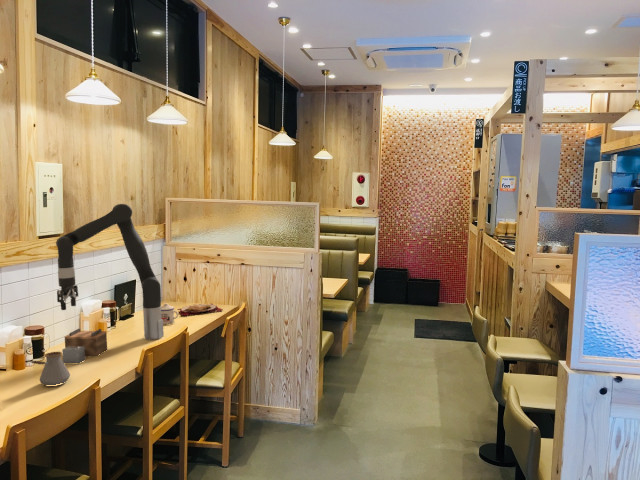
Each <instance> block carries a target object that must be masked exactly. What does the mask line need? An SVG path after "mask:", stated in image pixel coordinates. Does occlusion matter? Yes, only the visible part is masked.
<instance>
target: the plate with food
mask: <svg viewBox="0 0 640 480" xmlns="http://www.w3.org/2000/svg"><path fill="white" fill-rule="evenodd" d="M176 311H178V314H180V315H181V316H195V315H199V314H200V315H201V314H202V315H203V314H205V313H203V312H207V314H213V313H218V312H221V311H223V308H221V307H219V306H217V304H216V305H215V304H213V303H209V304H205V303H203V304H202V303H200V304H191V305H186V306H183V307H182V308H177V309H176Z"/></svg>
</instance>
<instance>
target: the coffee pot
mask: <svg viewBox="0 0 640 480" xmlns="http://www.w3.org/2000/svg"><path fill="white" fill-rule="evenodd" d="M62 355H63V352H62V351H51V352H47V353H45V354H44V357H45V358H46V361H43V360H42V361H41V360H32V361H30V363H31V364H33V365H30V367H34V365H44V366H43V369H42V372H41V374H40V377H39V382H40V383H41V384H42V385H43V384H44V385H43V386H45V385H56V384H60V383H64V382H65V383H66V382H67V381H68V380H69V378H70V377H71V373H70V371H69V369H67V366H66V364H64V363H63V359H62V358H61V356H62ZM65 383H64V384H65Z"/></svg>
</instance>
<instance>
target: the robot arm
mask: <svg viewBox="0 0 640 480" xmlns="http://www.w3.org/2000/svg"><path fill="white" fill-rule="evenodd" d="M132 209H133V208H131V206H129V205H128V204H126V203H118V204H116V205H114V206H113V207H112V208H111V211H109V212H108V213H107V214H105V215H103V216H101V217H99V218H97V219H94V220H92V221H90V222H88V223H85V224H84V225H81V226H80V227H78V228H76V229H75V230H73V231H70V232H68V233H65V234H63V235H62V236H60V237H58V238H57V239H56V241H55V246H56V247H57V254H58V255H57V256H58V257H57V267H58V268H57V269H58V270H57V277H58V278H57V279H58V280H57V281H58V286H59V287H60V288H61V289H57V290H56V297H57V298H56V300H57V303H60V309H61V311H66V310H67V303H66V301H67V300H68V298H69V297H70V306H71V307H76V306H77V301H76V299H77V298H78V297H79V290H78V285H77V284H76V273H75V272H76V271H75V265H74V263H75V262H74V246H75V245H77V244H79V243H83V242H86V241H87V240H89V239H91V238H92V237H94V236H96V235H98V234H99V233H101V232H103V231H104V230H106V229H108V228H111V227H112V226H115V225H117V227H118V229H119V232H120V234H121V237H122V241H123V244H124V247H125V250H126V252H127V254H128V256H129V259H130V261H131V263H132V265H133V266H134V268H135V270H136V272H137V274H138V277H139V282H140V283H141V289H142V311H143V331H144V334H143V335H144V339H145V340H150V341H151V340H160V339H162V338H163V337H164V335H165V334H164V324H163V319H161V307H162V298H161V297H162V296H161V295H162V293H161V292H162V290H161V288H162V287H161V284H160V282H159V280H158V278H157V277H156V275H155V273H154V272H153V269H152V267H151V263H150V260H149V259H150V258H149V255H148V251H147V248H146V247H145V246H146V245H145V243H144V241H143V240H142V237H141V236H140V234H139V232H137V230H136V228H135V226H134V223H133V220H132V216H133V210H132Z"/></svg>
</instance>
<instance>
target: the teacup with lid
mask: <svg viewBox="0 0 640 480" xmlns="http://www.w3.org/2000/svg"><path fill="white" fill-rule="evenodd" d="M175 313H176V316H175ZM178 317H179V311H178V310H175V307H174V306H173V305H170V304H169V303H165V302H164V304H163V305H161V319H163V325H169V324H170V325H171V324H173V323H174V322H175V320H176V319H178Z"/></svg>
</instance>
